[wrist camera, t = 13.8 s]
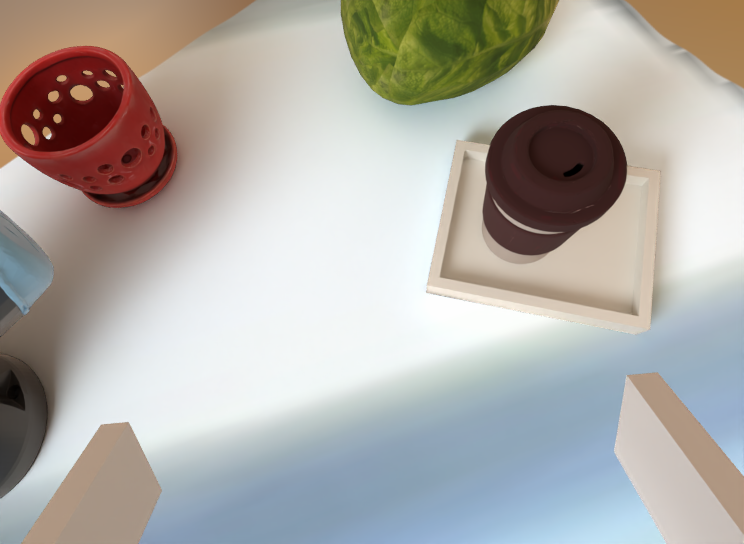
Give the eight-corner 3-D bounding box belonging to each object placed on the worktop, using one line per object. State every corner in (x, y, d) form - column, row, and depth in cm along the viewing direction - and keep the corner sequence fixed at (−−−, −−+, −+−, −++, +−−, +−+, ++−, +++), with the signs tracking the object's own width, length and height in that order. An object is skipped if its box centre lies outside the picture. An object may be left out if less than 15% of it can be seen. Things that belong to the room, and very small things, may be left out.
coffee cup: (465, 188, 49) (486, 93, 35) (563, 184, 48) (626, 86, 34) (470, 279, 46) (496, 218, 32) (575, 277, 45) (649, 213, 31)
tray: (426, 292, 47) (427, 285, 45) (454, 154, 52) (456, 139, 49) (635, 334, 44) (650, 329, 42) (647, 184, 49) (660, 171, 46)
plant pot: (208, 178, 53) (152, 112, 42) (103, 237, 52) (17, 186, 41) (163, 98, 57) (101, 18, 46) (65, 151, 56) (-24, 83, 45)
